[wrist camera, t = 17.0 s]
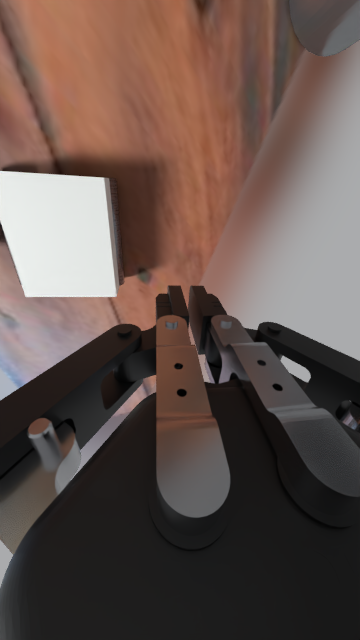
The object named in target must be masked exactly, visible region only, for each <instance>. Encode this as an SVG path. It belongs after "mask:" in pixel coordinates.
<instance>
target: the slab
mask: <svg viewBox="0 0 360 640" xmlns="http://www.w3.org/2000/svg"><path fill="white" fill-rule="evenodd" d="M0 222H1V225H2V228H3V231H4V233H5V236H6V239H7V242H8V245H9V248H10V251H11V254H12V257H13V260H14V263H15V266H16V269H17V272H18V275H19V278H20V281H21V284H22V287H23V290H24V293H25V296H26V297H117V293H118V289H119V279H118V268H117V257H116V247H115V236H114V225H113V214H112V204H111V193H110V182H109V178H101V177H86V176H70V175H55V174H40V173H24V172H9V171H0Z"/></svg>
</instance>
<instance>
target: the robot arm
mask: <svg viewBox="0 0 360 640" xmlns="http://www.w3.org/2000/svg"><path fill="white" fill-rule="evenodd" d="M289 7H290V14H291V21H292V24H293V27H294V31H295V34H296V36H297V37H298V39H299V41H300V43H301V44H302V45H303V46H304V47H305V48H306V49H307V50H308V51H309V52H311V53H313V54H315V55H318V56H330V55H335V54H337V53H339V52H341V51H343V50H345V49H346V48H348V47H349V46H351V45H352V44H354V43H355V42H357V41H358V40H360V0H289ZM189 323H190V326H191V330H192V334H193V337H194V340H195V344H196V346H195V345H191V342H190V337H189V333H188V327H189ZM196 348H197V350H196ZM197 351H198V354H199V355H201V354H205V356H206V358H205V368H206V371H207V374H208V376H209V380H210V383H208V382H204V379H203V375H202V371H201V367H200V363H199V359H198V354H197ZM282 355H283V356H285V357H287V358H289V359H290V360H292V361H294V362H296V363H298V364H300V365H301V366H303V367H305V368H306V369H307V370H308V371H309V372H310V374H311V378H310V380H309V382H308V383H307V382H304V381H302V380H301V379H299V378H297V377H296V376H294V375H292V374H291V373H289V372H288V370H287V369H286V368H285V367H284V365H283V364H282V363H281V361H280V360H281V358H282ZM153 375H156V392H155V393H153V394H151V395H149V396H148V397H146V398H145V399H143V400H142V401H141V402H140V403H139V404H138V405H137V406H136V407H135V408H134V409H133V410H132V411H131V413H130V414H129V415H128V416H127V417H126V418H125V419H124V421H123V422H122V423H121V424H120V425H119V426H118V428H117V429H116V430H115V431H114V432H113V433H112V434H111V435H110V437H109V438H108V439H107V440H106V441H105V442H104V443H103V445H102V446H101V447H100V448H99V449H98V450H97V451H96V453H95V454H94V455H93V456H92V457H91V458H90V459H89V461H88V462H87V463H86V464H85V465H84V466H83V468H82V469H81V470H80V471H79V472H78V473H77V474H76V475H75V476H74V474H75V473H76V471H77V470H78V468H79V465H80V462H81V452H80V450H81V449H82V448H83V447H84V446H85V444H86V443H87V442H88V441H89V440H90V439H91V438H92V437H93V436H94V435H95V434H96V433H97V431H98V430H99V429H100V428H101V427H102V426H103V425H104V424H105V423H106V422H107V421H108V420H109V419H110V418H111V416H112V415H113V414H114V413H115V412H116V411H117V410H118V409H119V408H120V407H121V406H122V405H123V404H124V402H125V401H126V400H127V399H128V398H129V397H130V396H131V395H132V394H133V393H134V392H135V391H136V390H137V388H138V387H139V386H140V385H141V384H142V382H143V378H146V377H150V376H153ZM73 476H74V478H73V479H72V480H71V478H72V477H73ZM70 480H71V481H70ZM0 540H1V541H2V542H3V543H4V544H5V546H6V547H7V548H8V549H9V550H10V552H11V553H12V554H13V557H12V559H11V561H10V563H9V566H8V568H7V570H6V573H5V576H4V579H3V581H2V584H1V588H0V640H360V361H358V360H356V359H354V358H352V357H350V356H348V355H345V354H343V353H341V352H339V351H336V350H334V349H332V348H330V347H328V346H326V345H324V344H321V343H319V342H317V341H315V340H313V339H310V338H308V337H306V336H304V335H301V334H299V333H297V332H295V331H293V330H291V329H289V328H287V327H284V326H282V325H280V324H277V323H273V322H263V323H261V324H259V326H258V330H253V329H247V328H244V327H243V326H242V325H241V323H240V322H239V321H238V319H236V318H234V317H232V316H229V315H227V313H226V311H225V310H224V308H223V307H222V305H221V303H220V301H219V299H218V298H217V297H216V296H214V295H213V294H207V292H206V290H205V288H204V286H190V292H189V304H188V309H187V306H186V303H185V299H184V296H183V292H182V289H181V286H168V292H167V294H159V295H158V296H157V297H156V325H155V326H154V327H153V328H151V329H148V330H145V331H141V329H140V328H139V327H137V326H135V325H132V324H121V325H117V326H114V327H113V328H111V329H109V330H108V331H106V332H105V333H103V334H102V335H100V336H99V337H97V338H96V339H94V340H93V341H91V342H89V343H88V344H86V345H85V346H83V347H82V348H80V349H79V350H77V351H76V352H74V353H73V354H71V355H70V356H68V357H66V358H65V359H63V360H62V361H60V362H59V363H57V364H56V365H54V366H53V367H51V368H50V369H48V370H47V371H45V372H43V373H42V374H40V375H39V376H37V377H36V378H34V379H33V380H31V381H30V382H28V383H27V384H25V385H24V386H22V387H20V388H19V389H17V390H16V391H14V392H13V393H11V394H10V395H8V396H7V397H5V398H4V399H2V400H1V401H0Z"/></svg>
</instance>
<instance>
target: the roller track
mask: <svg viewBox="0 0 360 640" xmlns="http://www.w3.org/2000/svg"><path fill="white" fill-rule="evenodd" d="M109 182H110V193H111V204H112V214H113V225H114V236H115V247H116V257H117V268H118V279H119V286H120V285H122V284H124V271H123V259H122V246H121V234H120V221H119V209H118V196H117V183H116V179H115V178H109ZM0 226H1V229H2V232H3V235H4V237H5V240H6V243H7V246H8V249H9V252H10V255H11V258H12V261H13V264H14V267H15V270H16V273H17V276H18V279H19V282H20V284H21V281H20V278H19V275H18V272H17V269H16V266H15V263H14V260H13V257H12V254H11V251H10V248H9V245H8V242H7V239H6V236H5V233H4V231H3V228H2V225H1V222H0ZM21 285H22V284H21Z"/></svg>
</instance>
